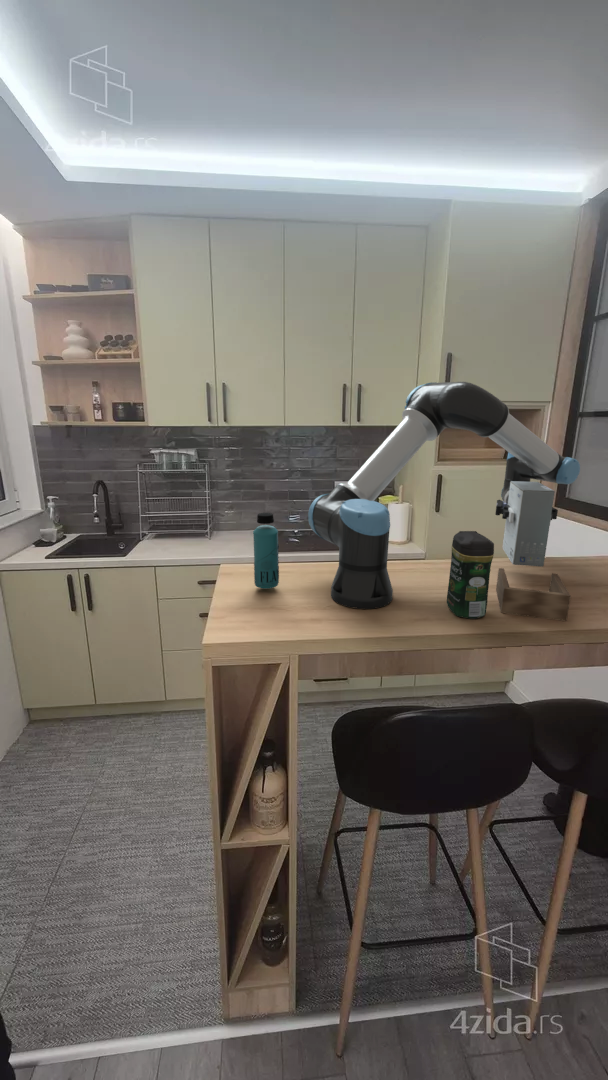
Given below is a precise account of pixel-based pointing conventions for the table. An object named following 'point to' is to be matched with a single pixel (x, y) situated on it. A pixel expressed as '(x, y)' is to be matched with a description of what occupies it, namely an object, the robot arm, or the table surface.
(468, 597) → the coffee jar
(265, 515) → the beverage bottle
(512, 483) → the hard drive box
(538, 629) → the table surface
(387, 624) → the table surface
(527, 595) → the walnut crate
